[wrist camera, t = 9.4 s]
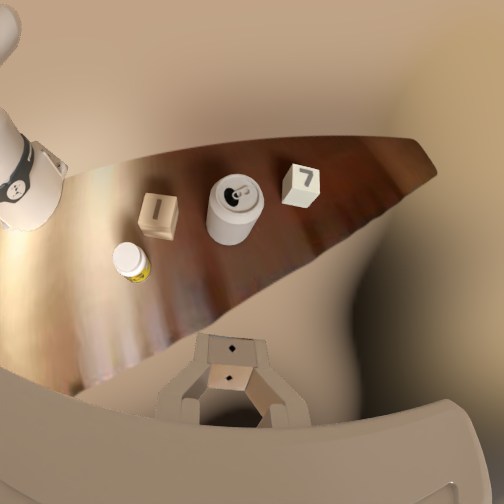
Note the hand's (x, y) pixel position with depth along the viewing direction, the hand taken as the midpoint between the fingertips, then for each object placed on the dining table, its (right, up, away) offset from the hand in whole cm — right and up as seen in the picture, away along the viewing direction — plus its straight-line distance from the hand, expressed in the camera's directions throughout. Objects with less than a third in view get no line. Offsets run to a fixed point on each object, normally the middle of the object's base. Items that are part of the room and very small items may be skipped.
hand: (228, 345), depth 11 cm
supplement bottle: (-17, +1, +30) cm, 35 cm away
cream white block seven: (+9, +15, +39) cm, 43 cm away
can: (-3, +8, +35) cm, 36 cm away
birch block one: (-14, +9, +33) cm, 36 cm away
